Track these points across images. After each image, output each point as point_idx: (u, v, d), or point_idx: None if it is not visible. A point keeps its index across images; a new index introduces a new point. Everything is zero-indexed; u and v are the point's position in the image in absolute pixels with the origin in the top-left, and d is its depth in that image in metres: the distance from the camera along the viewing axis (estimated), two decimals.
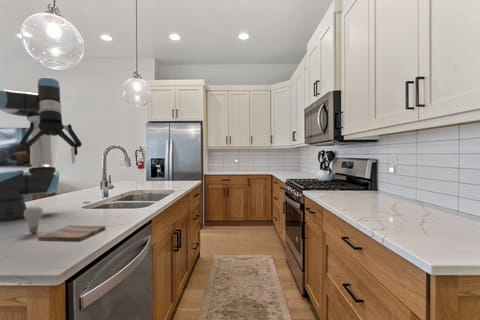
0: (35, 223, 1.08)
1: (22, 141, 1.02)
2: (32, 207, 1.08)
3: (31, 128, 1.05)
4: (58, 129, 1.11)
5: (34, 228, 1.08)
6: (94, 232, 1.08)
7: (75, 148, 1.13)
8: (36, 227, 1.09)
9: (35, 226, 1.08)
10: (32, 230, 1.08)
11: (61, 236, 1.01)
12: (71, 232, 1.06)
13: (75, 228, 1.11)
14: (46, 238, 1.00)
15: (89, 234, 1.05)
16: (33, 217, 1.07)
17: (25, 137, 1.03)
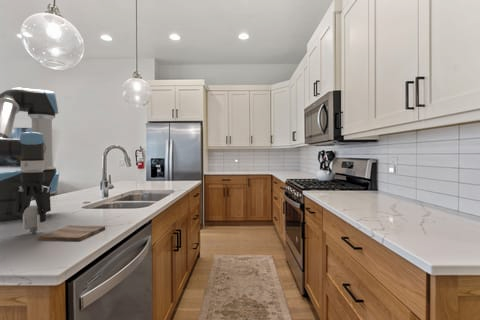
0: (35, 223, 1.08)
1: (17, 209, 1.08)
2: (32, 207, 1.08)
3: (17, 194, 1.08)
4: (33, 191, 1.07)
5: (34, 228, 1.08)
6: (94, 232, 1.08)
7: (41, 215, 1.08)
8: (36, 227, 1.09)
9: (35, 226, 1.08)
10: (32, 230, 1.08)
11: (61, 236, 1.01)
12: (71, 232, 1.06)
13: (75, 228, 1.11)
14: (46, 238, 1.00)
15: (89, 234, 1.05)
16: (32, 217, 1.07)
17: (17, 204, 1.08)
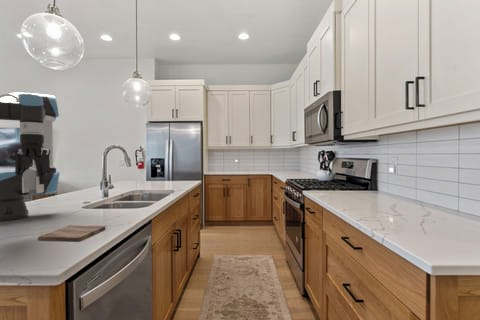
0: (34, 185, 1.08)
1: (16, 171, 1.08)
2: (31, 169, 1.07)
3: (16, 156, 1.08)
4: (32, 153, 1.07)
5: (33, 191, 1.08)
6: (94, 232, 1.08)
7: (40, 177, 1.08)
8: (35, 190, 1.09)
9: (34, 188, 1.08)
10: (31, 192, 1.08)
11: (61, 236, 1.01)
12: (71, 232, 1.06)
13: (75, 228, 1.11)
14: (46, 238, 1.00)
15: (89, 234, 1.05)
16: (32, 179, 1.07)
17: (16, 166, 1.08)
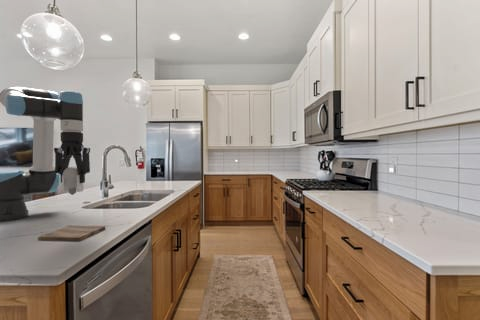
0: (74, 184, 1.06)
1: (56, 170, 1.06)
2: (71, 168, 1.06)
3: (56, 154, 1.06)
4: (73, 152, 1.05)
5: (73, 190, 1.06)
6: (94, 232, 1.08)
7: (81, 176, 1.06)
8: (75, 188, 1.07)
9: (74, 187, 1.06)
10: (71, 191, 1.06)
11: (61, 236, 1.01)
12: (71, 232, 1.06)
13: (75, 228, 1.11)
14: (46, 238, 1.00)
15: (89, 234, 1.05)
16: (72, 177, 1.05)
17: (56, 165, 1.06)
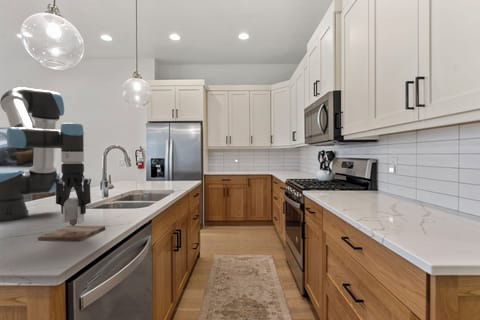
0: (75, 215, 1.06)
1: (57, 201, 1.07)
2: (72, 199, 1.06)
3: (57, 185, 1.06)
4: (73, 183, 1.05)
5: (74, 221, 1.07)
6: (94, 232, 1.08)
7: (81, 207, 1.06)
8: (76, 219, 1.07)
9: (75, 218, 1.07)
10: (72, 222, 1.06)
11: (61, 236, 1.01)
12: (71, 232, 1.06)
13: (75, 228, 1.11)
14: (46, 238, 1.00)
15: (89, 234, 1.05)
16: (73, 209, 1.05)
17: (57, 196, 1.07)
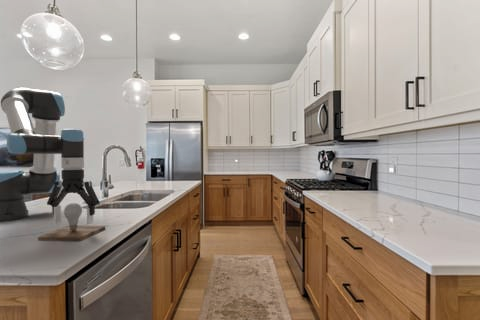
0: (75, 221, 1.07)
1: (48, 202, 1.07)
2: (72, 205, 1.06)
3: (55, 188, 1.07)
4: (75, 189, 1.05)
5: (74, 226, 1.07)
6: (94, 232, 1.08)
7: (91, 208, 1.06)
8: (76, 225, 1.07)
9: (75, 224, 1.07)
10: (72, 228, 1.06)
11: (61, 236, 1.01)
12: (71, 232, 1.06)
13: None
14: (46, 238, 1.00)
15: (89, 234, 1.05)
16: (73, 215, 1.05)
17: (50, 198, 1.07)
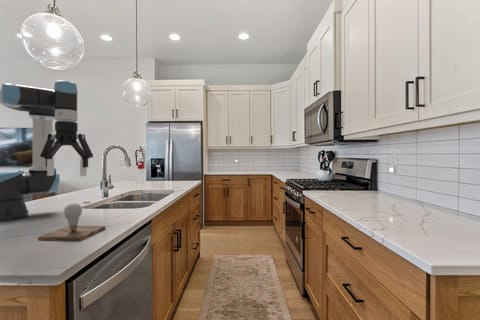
0: (75, 221, 1.07)
1: (41, 154, 1.07)
2: (72, 205, 1.06)
3: (48, 140, 1.07)
4: (68, 140, 1.06)
5: (74, 226, 1.07)
6: (94, 232, 1.08)
7: (84, 160, 1.06)
8: (76, 225, 1.07)
9: (75, 224, 1.07)
10: (72, 228, 1.06)
11: (61, 236, 1.01)
12: (71, 232, 1.06)
13: None
14: (46, 238, 1.00)
15: (89, 234, 1.05)
16: (73, 215, 1.05)
17: (44, 150, 1.07)
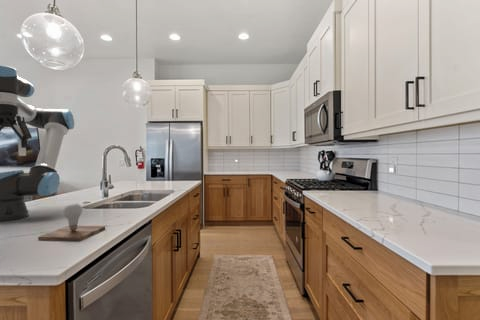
0: (75, 221, 1.07)
1: None
2: (72, 205, 1.06)
3: None
4: (7, 122, 1.12)
5: (74, 226, 1.07)
6: (94, 232, 1.08)
7: (22, 141, 1.12)
8: (76, 225, 1.07)
9: (75, 224, 1.07)
10: (72, 228, 1.06)
11: (61, 236, 1.01)
12: (71, 232, 1.06)
13: None
14: (46, 238, 1.00)
15: (89, 234, 1.05)
16: (73, 215, 1.05)
17: None
